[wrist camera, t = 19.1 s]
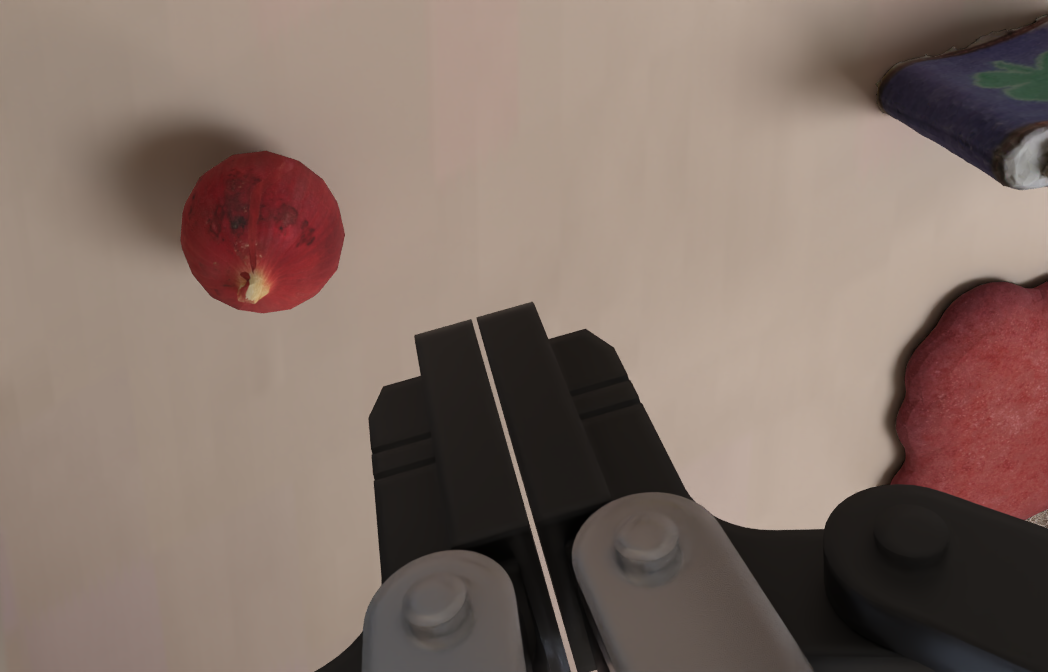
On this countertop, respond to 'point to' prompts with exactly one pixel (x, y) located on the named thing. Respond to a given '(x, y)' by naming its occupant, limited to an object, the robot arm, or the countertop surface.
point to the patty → (981, 401)
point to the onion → (261, 232)
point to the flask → (981, 102)
